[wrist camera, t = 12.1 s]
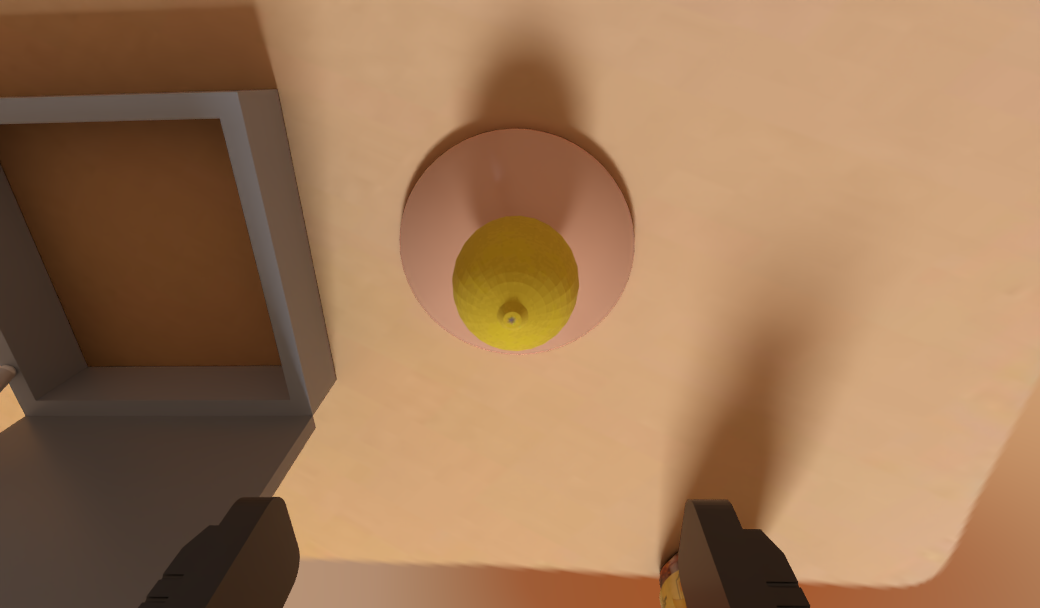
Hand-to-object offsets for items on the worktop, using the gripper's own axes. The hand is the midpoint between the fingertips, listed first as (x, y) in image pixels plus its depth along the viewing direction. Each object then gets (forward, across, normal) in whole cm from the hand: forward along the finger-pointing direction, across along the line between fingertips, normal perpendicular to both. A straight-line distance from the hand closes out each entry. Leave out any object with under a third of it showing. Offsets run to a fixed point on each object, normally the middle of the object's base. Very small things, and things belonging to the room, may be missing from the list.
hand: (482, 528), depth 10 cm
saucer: (+18, 0, 0) cm, 18 cm away
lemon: (+18, 0, 0) cm, 18 cm away
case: (+18, +19, 0) cm, 26 cm away
